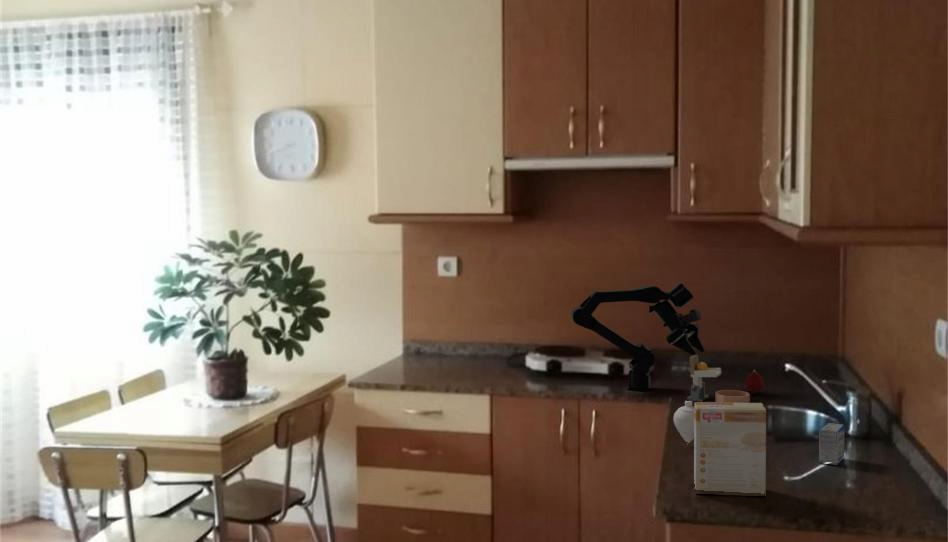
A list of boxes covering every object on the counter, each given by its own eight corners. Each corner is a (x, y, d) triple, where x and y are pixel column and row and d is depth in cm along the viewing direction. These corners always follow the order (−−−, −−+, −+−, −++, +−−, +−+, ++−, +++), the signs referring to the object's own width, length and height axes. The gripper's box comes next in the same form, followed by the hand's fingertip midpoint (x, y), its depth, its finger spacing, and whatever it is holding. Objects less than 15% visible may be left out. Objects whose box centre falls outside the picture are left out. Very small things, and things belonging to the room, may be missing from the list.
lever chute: (691, 389, 297) (689, 357, 297) (697, 386, 302) (694, 354, 302) (717, 390, 293) (714, 357, 293) (722, 386, 298) (719, 354, 298)
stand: (686, 400, 297) (686, 385, 297) (693, 396, 304) (694, 380, 304) (702, 402, 295) (702, 386, 294) (709, 397, 302) (709, 382, 301)
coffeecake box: (761, 487, 209) (762, 402, 208) (766, 498, 202) (767, 409, 201) (693, 485, 212) (693, 400, 210) (695, 495, 205) (696, 407, 203)
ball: (697, 375, 297) (693, 364, 298) (700, 373, 300) (696, 362, 301) (707, 372, 295) (703, 361, 296) (710, 370, 298) (706, 360, 299)
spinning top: (667, 444, 246) (667, 399, 245) (691, 441, 249) (691, 396, 248) (684, 451, 239) (685, 405, 238) (709, 448, 242) (709, 402, 241)
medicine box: (837, 466, 225) (838, 431, 224) (818, 464, 227) (819, 429, 226) (844, 458, 231) (845, 424, 231) (825, 456, 234) (826, 422, 233)
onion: (764, 396, 303) (764, 371, 302) (745, 395, 304) (746, 371, 303) (762, 392, 309) (762, 368, 308) (744, 391, 310) (744, 368, 309)
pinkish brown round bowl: (711, 404, 292) (711, 394, 292) (720, 398, 301) (720, 388, 301) (744, 407, 287) (744, 398, 287) (752, 401, 296) (752, 391, 296)
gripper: (678, 303, 301) (709, 341, 296) (696, 299, 317) (725, 335, 312) (653, 324, 306) (683, 362, 301) (672, 319, 322) (701, 355, 317)
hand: (699, 353), depth 308 cm, fingers open, 9 cm apart
